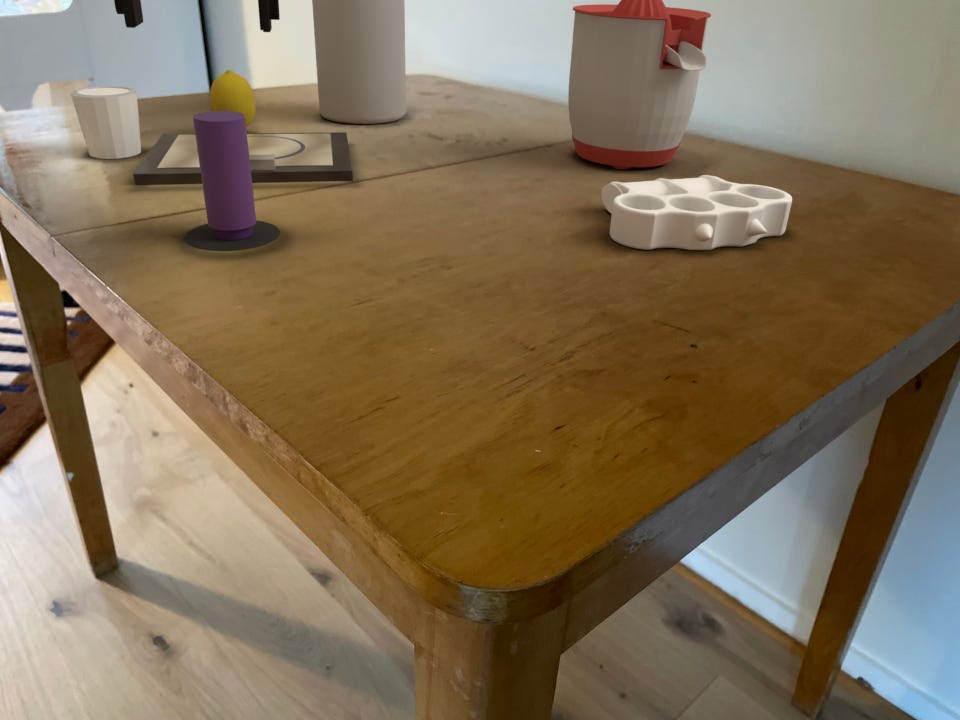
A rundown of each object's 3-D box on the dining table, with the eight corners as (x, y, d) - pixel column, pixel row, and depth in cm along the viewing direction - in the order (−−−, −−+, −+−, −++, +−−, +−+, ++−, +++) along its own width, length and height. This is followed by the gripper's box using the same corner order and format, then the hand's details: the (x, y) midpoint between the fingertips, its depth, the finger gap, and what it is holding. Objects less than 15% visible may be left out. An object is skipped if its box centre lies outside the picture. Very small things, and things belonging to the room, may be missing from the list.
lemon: (264, 136, 101) (258, 71, 97) (222, 141, 98) (214, 74, 94) (249, 128, 105) (243, 65, 101) (208, 132, 102) (200, 68, 98)
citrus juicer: (628, 186, 86) (653, -14, 77) (535, 150, 99) (547, -25, 89) (725, 169, 94) (759, -15, 84) (627, 139, 107) (647, -24, 97)
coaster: (178, 256, 64) (177, 252, 63) (191, 224, 71) (190, 220, 70) (279, 253, 65) (278, 248, 65) (282, 222, 72) (281, 218, 72)
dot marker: (207, 243, 66) (189, 121, 61) (212, 227, 69) (196, 111, 64) (256, 241, 66) (242, 121, 61) (259, 226, 70) (246, 110, 65)
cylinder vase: (404, 108, 120) (400, -78, 108) (408, 125, 110) (405, -79, 98) (321, 107, 119) (309, -81, 107) (317, 125, 108) (303, -82, 96)
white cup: (69, 156, 90) (55, 92, 86) (113, 143, 95) (102, 83, 92) (117, 163, 88) (105, 98, 84) (159, 149, 94) (149, 89, 90)
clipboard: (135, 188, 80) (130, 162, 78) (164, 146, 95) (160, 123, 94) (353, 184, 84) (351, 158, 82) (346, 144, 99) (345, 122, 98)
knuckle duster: (723, 198, 83) (818, 244, 71) (570, 211, 78) (646, 264, 66) (728, 166, 82) (827, 209, 70) (573, 177, 76) (651, 225, 64)
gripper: (8, -278, 47) (66, 30, 55) (303, -249, 50) (316, 38, 58) (45, -254, 53) (92, 18, 61) (304, -230, 56) (316, 26, 65)
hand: (201, 27), depth 60 cm, fingers open, 9 cm apart
